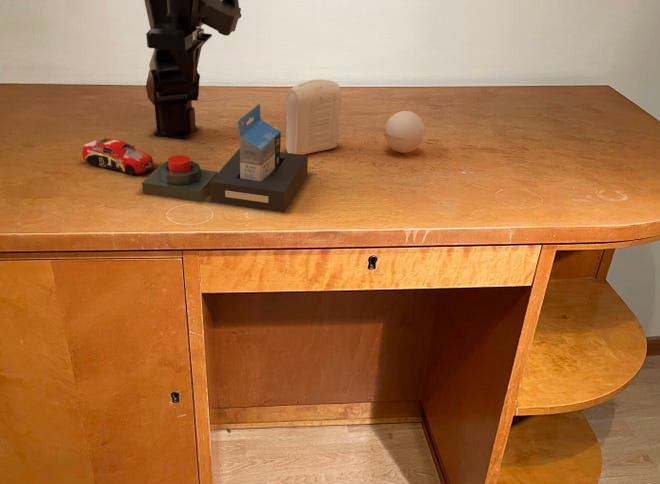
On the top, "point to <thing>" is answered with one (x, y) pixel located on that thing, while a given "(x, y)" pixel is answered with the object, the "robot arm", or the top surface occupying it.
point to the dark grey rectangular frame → (260, 184)
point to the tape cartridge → (258, 148)
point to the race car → (117, 156)
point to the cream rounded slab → (312, 116)
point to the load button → (179, 164)
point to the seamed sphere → (404, 131)
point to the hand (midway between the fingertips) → (190, 81)
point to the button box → (179, 183)
